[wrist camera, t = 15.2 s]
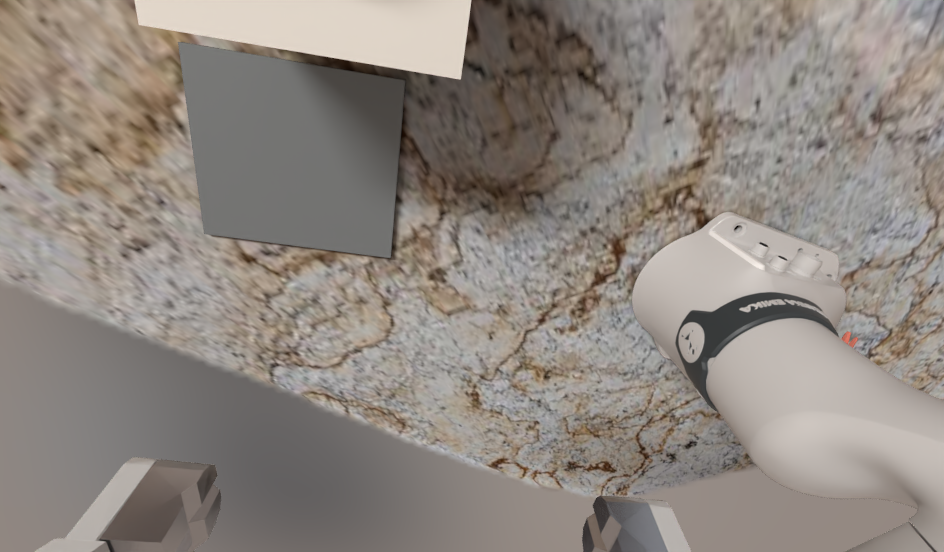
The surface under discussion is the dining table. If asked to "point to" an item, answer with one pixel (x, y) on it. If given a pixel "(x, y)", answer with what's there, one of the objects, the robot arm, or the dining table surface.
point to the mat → (293, 150)
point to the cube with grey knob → (330, 28)
